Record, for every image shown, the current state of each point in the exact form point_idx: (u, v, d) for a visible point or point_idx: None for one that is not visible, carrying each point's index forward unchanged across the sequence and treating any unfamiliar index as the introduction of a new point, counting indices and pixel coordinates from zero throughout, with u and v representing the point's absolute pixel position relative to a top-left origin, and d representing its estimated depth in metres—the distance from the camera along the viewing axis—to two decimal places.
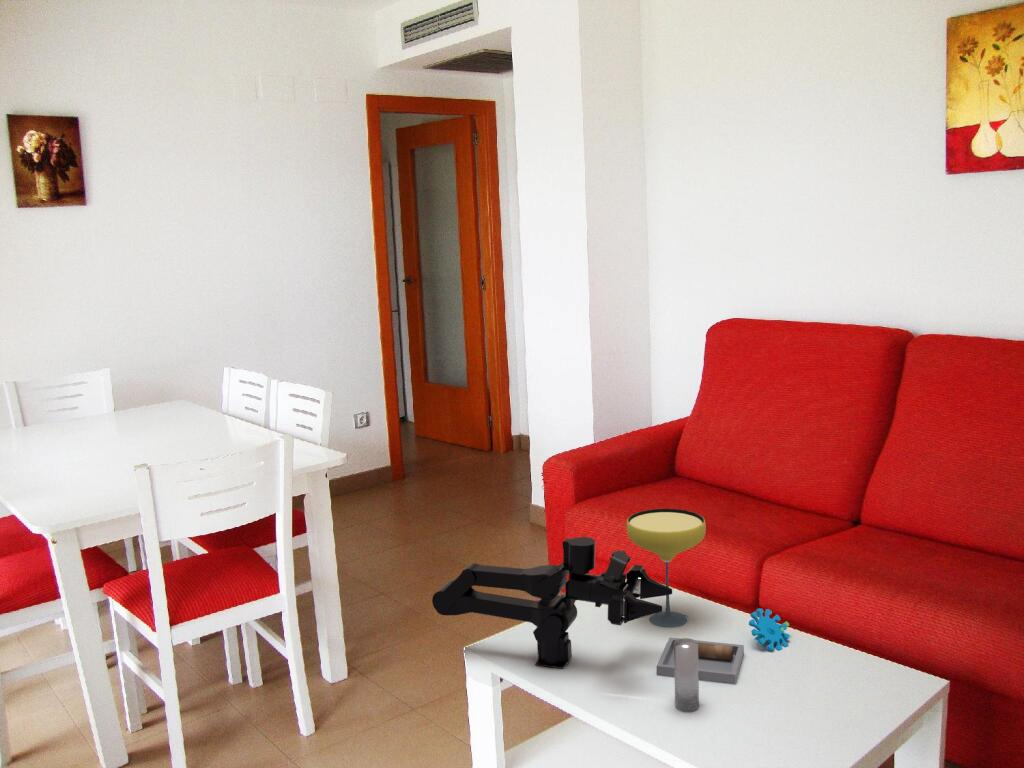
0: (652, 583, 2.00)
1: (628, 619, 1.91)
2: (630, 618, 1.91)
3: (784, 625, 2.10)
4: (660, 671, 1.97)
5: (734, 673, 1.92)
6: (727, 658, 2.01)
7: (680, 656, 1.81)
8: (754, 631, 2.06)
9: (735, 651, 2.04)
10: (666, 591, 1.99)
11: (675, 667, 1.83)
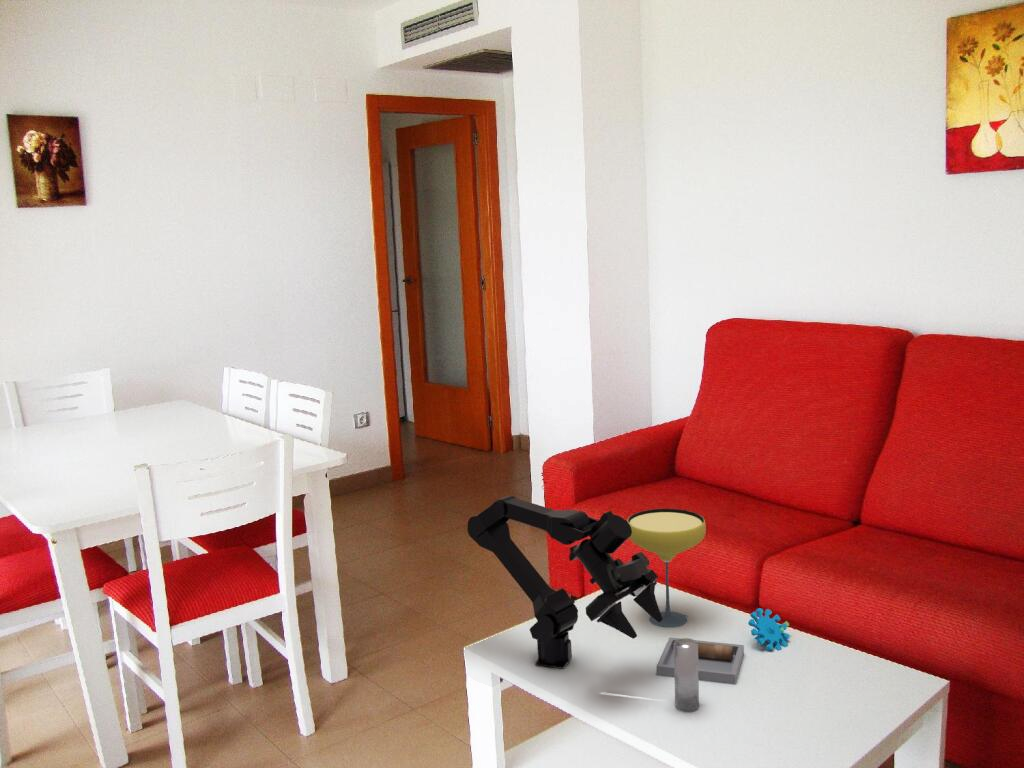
0: (651, 600, 1.93)
1: (602, 620, 1.87)
2: (604, 621, 1.87)
3: (784, 625, 2.10)
4: (660, 671, 1.97)
5: (734, 673, 1.92)
6: (727, 658, 2.01)
7: (680, 656, 1.81)
8: (754, 631, 2.06)
9: (735, 651, 2.04)
10: (657, 617, 1.92)
11: (675, 667, 1.83)
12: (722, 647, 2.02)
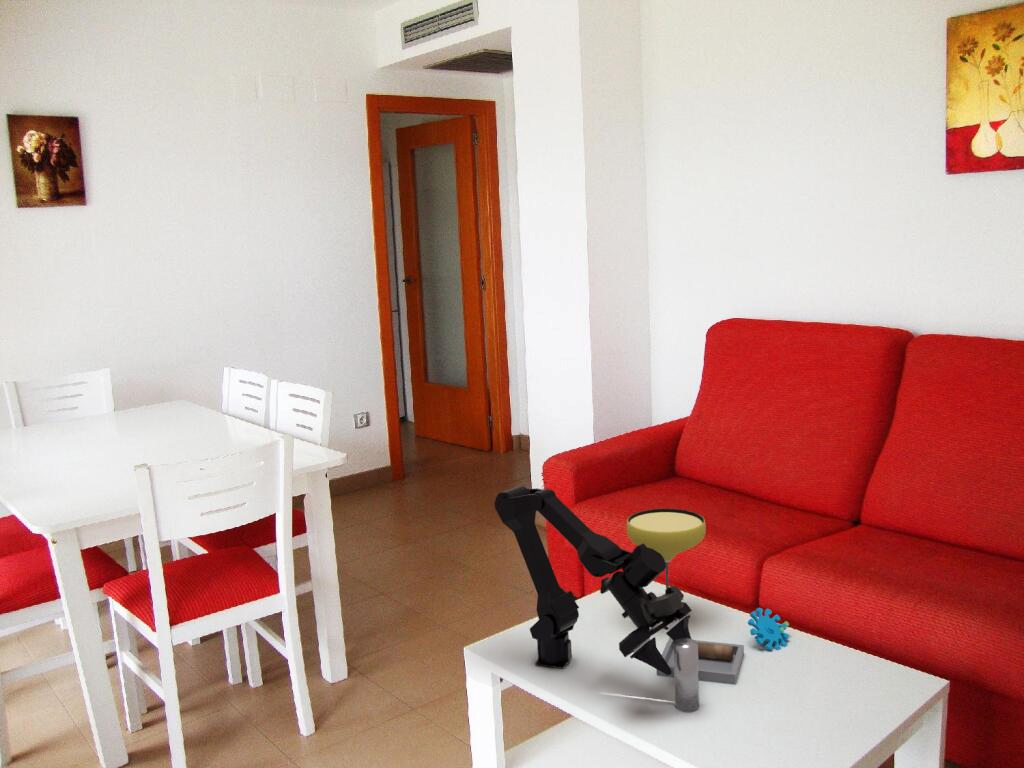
0: (685, 635, 1.89)
1: (636, 656, 1.83)
2: (638, 657, 1.83)
3: (784, 625, 2.11)
4: (660, 671, 1.97)
5: (734, 673, 1.92)
6: (727, 658, 2.01)
7: (680, 656, 1.81)
8: (753, 630, 2.06)
9: (735, 651, 2.04)
10: None
11: (675, 667, 1.83)
12: (722, 647, 2.01)
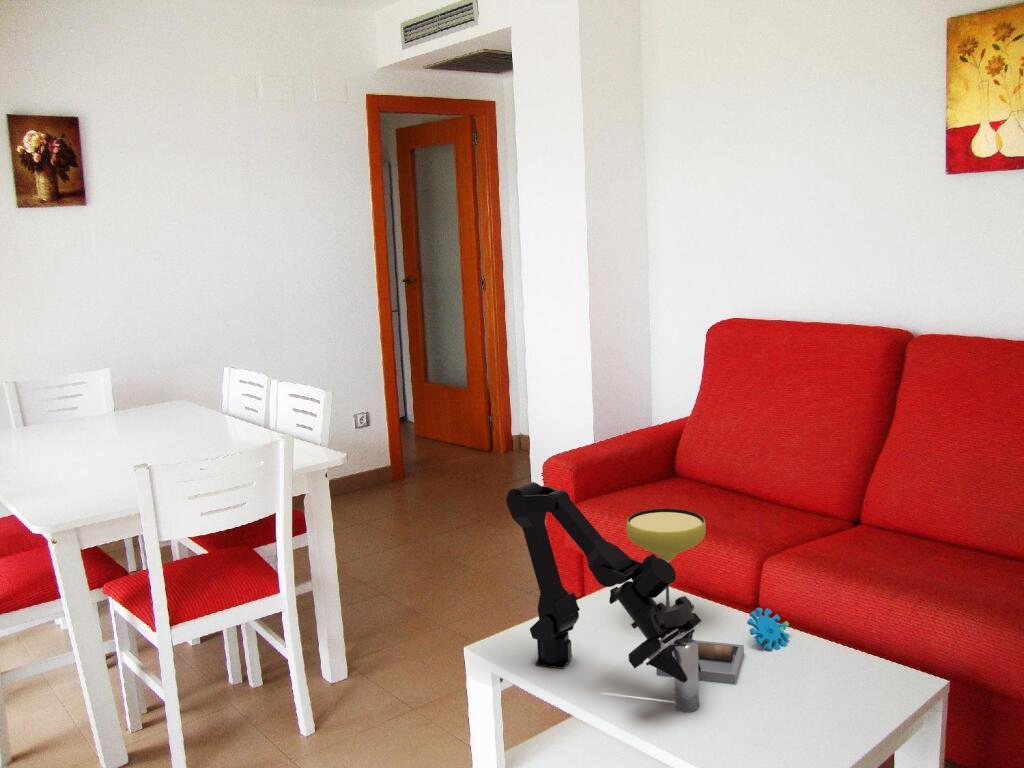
0: None
1: (651, 663, 1.83)
2: (654, 664, 1.83)
3: (784, 625, 2.11)
4: (660, 671, 1.97)
5: (734, 673, 1.92)
6: (727, 659, 2.01)
7: (680, 656, 1.81)
8: (752, 630, 2.06)
9: (735, 651, 2.04)
10: None
11: None
12: (722, 648, 2.01)
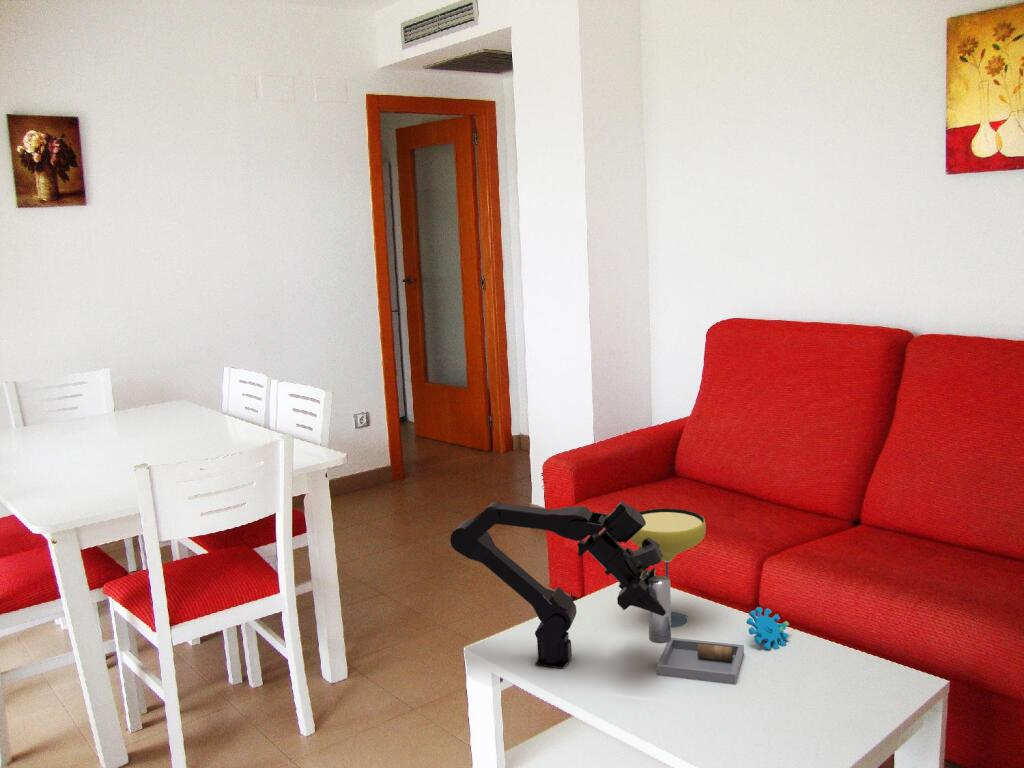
0: None
1: (633, 604, 1.95)
2: (634, 604, 1.95)
3: (783, 624, 2.11)
4: (660, 671, 1.97)
5: (734, 673, 1.92)
6: (727, 660, 2.01)
7: (658, 592, 1.95)
8: (751, 629, 2.06)
9: (735, 651, 2.04)
10: None
11: None
12: (722, 649, 2.01)
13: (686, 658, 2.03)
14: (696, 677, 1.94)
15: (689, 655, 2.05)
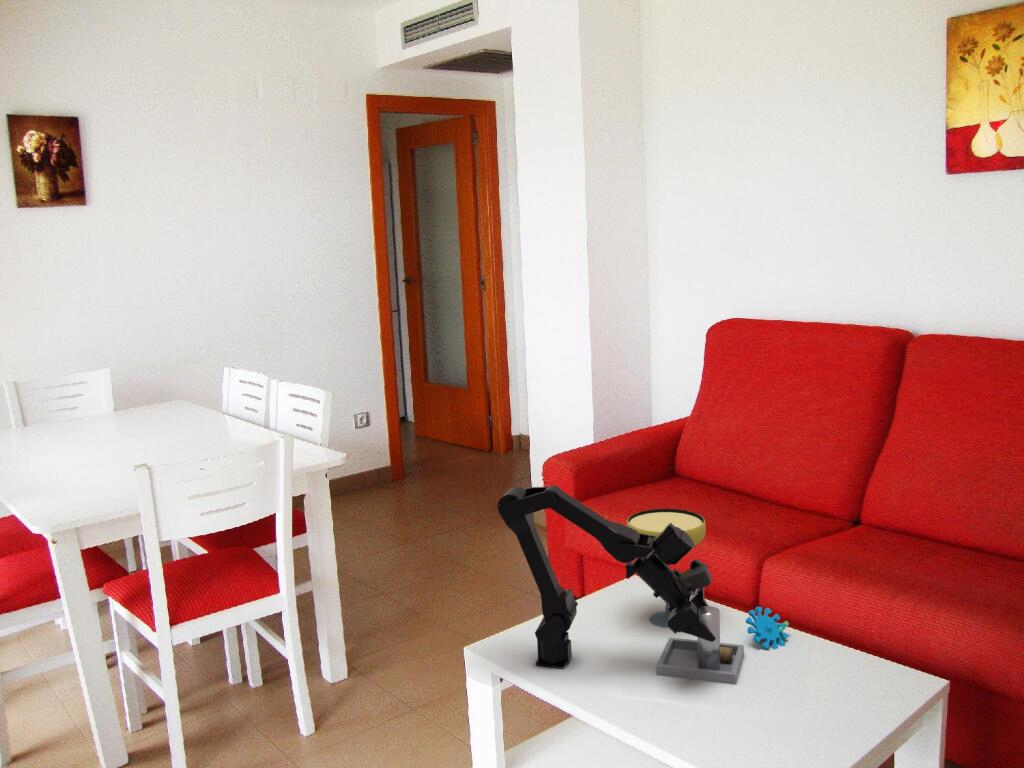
0: (705, 605, 2.00)
1: None
2: (684, 630, 1.92)
3: (783, 624, 2.11)
4: (660, 671, 1.97)
5: (734, 673, 1.92)
6: (727, 661, 2.01)
7: (708, 623, 1.94)
8: (750, 629, 2.07)
9: (735, 651, 2.04)
10: None
11: None
12: (721, 652, 2.00)
13: (686, 658, 2.03)
14: (696, 677, 1.94)
15: (689, 655, 2.05)
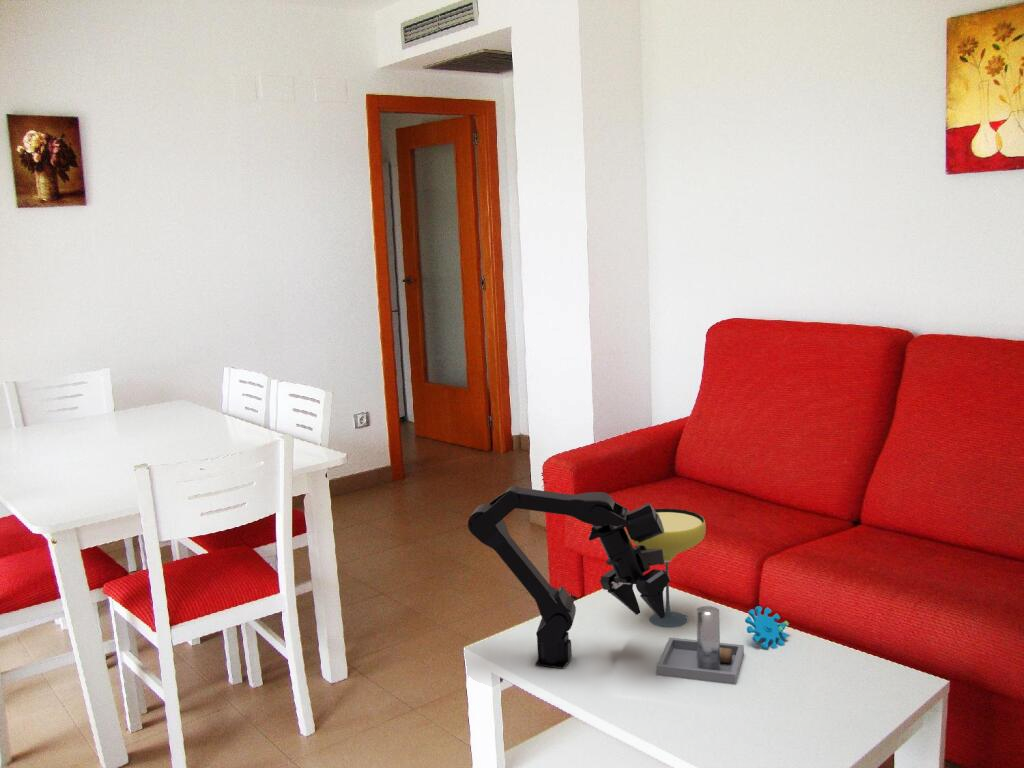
0: (633, 593, 2.06)
1: None
2: (648, 598, 1.94)
3: (783, 624, 2.11)
4: (660, 671, 1.97)
5: (734, 673, 1.92)
6: None
7: (708, 623, 1.94)
8: (749, 628, 2.07)
9: (735, 651, 2.04)
10: (636, 609, 2.05)
11: (701, 634, 1.95)
12: (721, 655, 2.00)
13: (686, 658, 2.03)
14: (696, 677, 1.94)
15: (689, 655, 2.05)
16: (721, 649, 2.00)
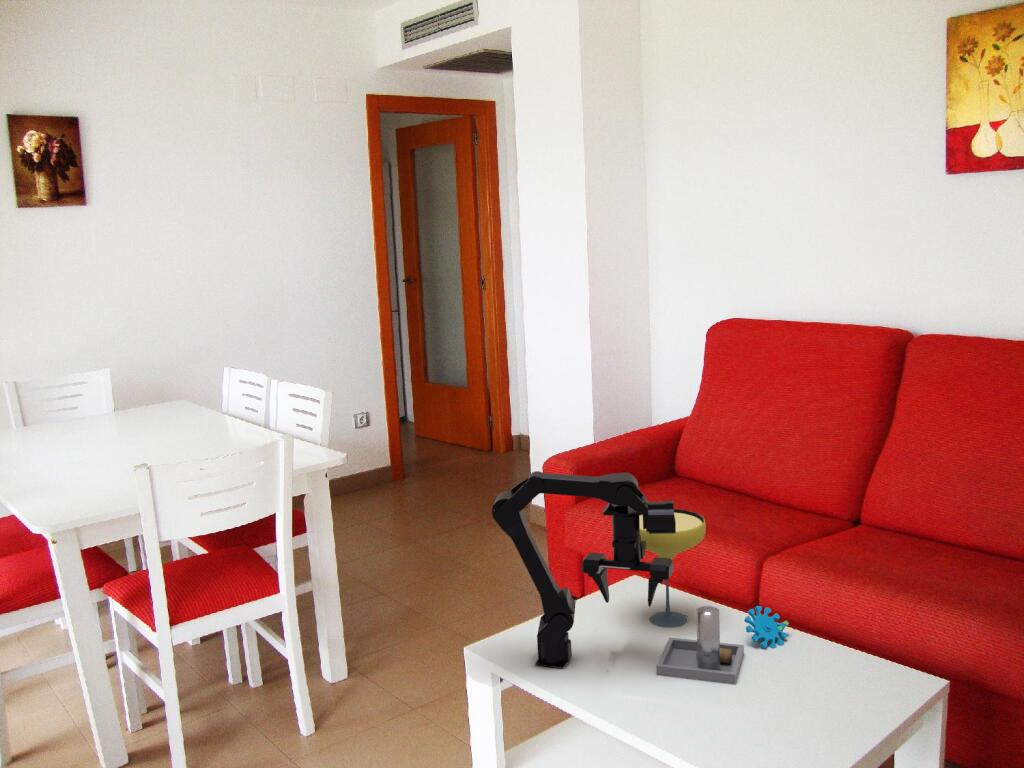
0: (607, 581, 2.05)
1: None
2: None
3: (783, 624, 2.11)
4: (660, 671, 1.97)
5: (734, 673, 1.92)
6: None
7: (708, 623, 1.94)
8: (748, 628, 2.08)
9: (735, 651, 2.04)
10: (608, 597, 2.04)
11: (701, 634, 1.95)
12: (720, 657, 1.99)
13: (686, 658, 2.03)
14: (696, 677, 1.94)
15: (689, 655, 2.05)
16: (721, 650, 2.00)
